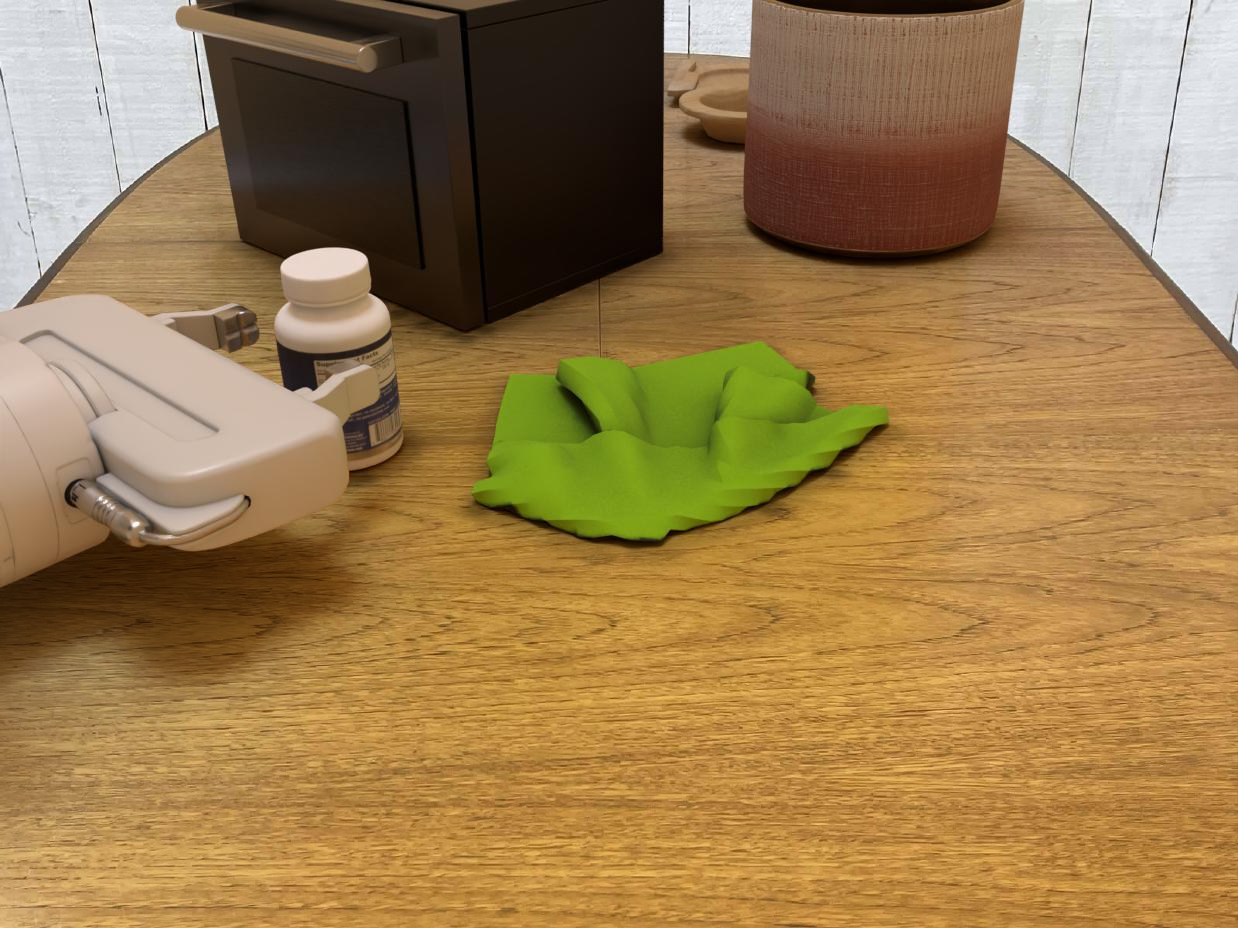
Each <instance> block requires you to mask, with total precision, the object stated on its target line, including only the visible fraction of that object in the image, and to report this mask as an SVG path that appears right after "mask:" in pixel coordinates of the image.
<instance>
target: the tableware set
mask: <svg viewBox="0 0 1238 928" xmlns="http://www.w3.org/2000/svg"><path fill="white" fill-rule="evenodd" d="M749 66H750V62H725V63H716V64H706V65H705V64H704V65H700V66H697V60H696V59H693V58H686V59H682V60H681V62H680V64H679V65H678V67H677V69H676V71H675V73H674V74H673V75H674V76H673V77H672V79H671V81H670V84H669V85H668V87H667V89H666V90H667V91H666V92H667V93H666V94H667V97H679V98H678V107H679V109H680V111H681V112H682V113H684V115H687V116H689V117H692V118H694V119H698V120H699V121H700V124H701V126H702V127H703V130H704V131H705V133H706V135H707V136H708V137H709V138H711V139H713V140H717V141H720V142H724V143H731V144H739V145H740V144H744V145H745V138H746V121H747V104H748V85H749Z"/></svg>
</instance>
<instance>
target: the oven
mask: <svg viewBox="0 0 1238 928" xmlns="http://www.w3.org/2000/svg"><path fill="white" fill-rule="evenodd" d="M382 1H387V2H393V3H398V4H404V5H409V6H415V7H420V8H426V9H431V10H436V11H442V12H447V13H453V14H458V15H459V16H460V28H461V40H462V52H463V64H464V76H465V88H466V101H467V113H468V125H469V137H470V149H471V161H472V173H473V185H474V197H475V209H476V221H477V233H478V245H479V257H480V270H481V282H482V294H483V306H484V318H485V322H484V323H486V324H490V323H493V322H495V321H498V320H500V319H503V318H505V317H508V316H510V315H512V314H515V313H517V312H520V311H523V310H525V309H527V308H529V307H532V306H534V305H537V304H539V303H542V302H544V301H547V300H548V299H551V298H554V297H556V296H558V295H561V294H564V293H566V292H568V291H571V290H573V289H576V288H578V287H580V286H583V285H585V284H587V283H590V282H593V281H595V280H598V279H600V278H602V277H604V276H607V275H610V274H611V273H614V272H617V271H619V270H622V269H625V268H627V267H630V266H632V265H634V264H637V263H639V262H641V261H643V260H646V259H649V258H651V257H653V256H656V255H658V254H661V253H663V252H664V166H665V165H664V164H665V162H664V161H665V160H664V156H665V155H664V153H665V152H664V150H665V149H664V148H665V142H664V141H665V139H664V138H665V137H664V136H665V131H664V130H665V0H382Z"/></svg>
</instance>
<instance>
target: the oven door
mask: <svg viewBox="0 0 1238 928" xmlns="http://www.w3.org/2000/svg"><path fill="white" fill-rule="evenodd" d="M195 3H196V4H192V5H182V6H180V7H178V9H177V10H176V11H175V17H174V18H175V23H176V24H177V26H178V27H179V28H180V29H182V30H185V31H189V32H192V33H197V34H201V35H202V41H203V46H204V51H205V52H204V53H205V57H206V63H207V68H208V74H209V79H210V84H211V90H212V95H213V101H214V106H215V111H216V116H217V117H216V118H217V123H218V127H219V128H218V129H219V132H220V139H221V145H222V150H223V155H224V159H225V166H226V170H227V171H226V172H227V177H228V181H229V187H230V192H231V198H232V203H233V209H234V214H235V221H236V225H237V230H238V236H239V239H240V240H242V241H244V242H247V243H249V244H252V245H254V246H257V247H259V248H262V249H264V250H266V251H269V252H271V253H274V254H275V255H279V256H280V257H284V258H286V259H288V258H289V257H291V256H293V255H295V254H298V253H301V252H304V251H308V250H314V249H320V248H347V249H353V250H356V251H359V252H361V253H363V254H364V255H365V256H366V257H367V259H368V264H369V271H370V277H371V289H370V291H369V292H368V293H371V294H374V295H376V296H379V297H381V298H384V299H387V300H389V301H391V302H394V303H395V304H396V303H397V304H399V305H400V306H403V307H406V308H409V309H410V310H413V311H416V312H419V313H420V314H423V315H425V316H428V317H430V318H433V319H436V320H437V321H441V322H443V323H445V324H448V325H450V326H453V327H455V328H457V329H459V330H462V331H468V330H470V329H473V328H476V327H478V326H480V325H482V324H484V323H486V322H485V318H484V306H483V294H482V282H481V270H480V257H479V245H478V233H477V221H476V209H475V197H474V185H473V173H472V161H471V149H470V137H469V125H468V113H467V101H466V88H465V76H464V64H463V52H462V40H461V28H460V16H459V15H458V14H453V13H447V12H442V11H436V10H431V9H426V8H420V7H415V6H409V5H404V4H398V3H393V2H387V1H382V0H195Z"/></svg>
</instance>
